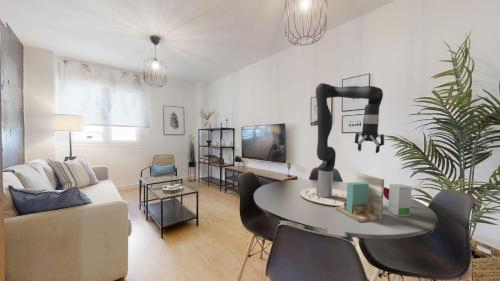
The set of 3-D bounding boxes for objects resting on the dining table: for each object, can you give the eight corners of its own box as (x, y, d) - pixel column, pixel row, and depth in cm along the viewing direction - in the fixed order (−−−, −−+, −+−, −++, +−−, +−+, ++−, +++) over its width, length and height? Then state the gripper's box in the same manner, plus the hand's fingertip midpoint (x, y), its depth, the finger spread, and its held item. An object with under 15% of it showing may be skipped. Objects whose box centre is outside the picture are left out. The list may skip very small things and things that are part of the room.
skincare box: (397, 216, 107) (399, 187, 107) (386, 211, 114) (388, 183, 113) (410, 215, 109) (412, 186, 108) (399, 210, 116) (401, 183, 115)
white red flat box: (378, 201, 130) (379, 186, 129) (413, 206, 123) (414, 189, 123) (379, 203, 127) (380, 187, 127) (414, 207, 121) (416, 191, 120)
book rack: (358, 221, 99) (360, 181, 98) (335, 209, 115) (337, 173, 114) (381, 218, 104) (384, 179, 103) (356, 207, 119) (358, 173, 118)
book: (351, 213, 106) (353, 184, 105) (346, 210, 109) (347, 182, 109) (367, 211, 108) (368, 183, 108) (360, 208, 112) (362, 181, 112)
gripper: (387, 123, 112) (384, 153, 114) (358, 123, 122) (356, 150, 123) (383, 123, 107) (381, 154, 108) (354, 122, 117) (352, 150, 118)
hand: (368, 151), depth 116 cm, fingers open, 8 cm apart
